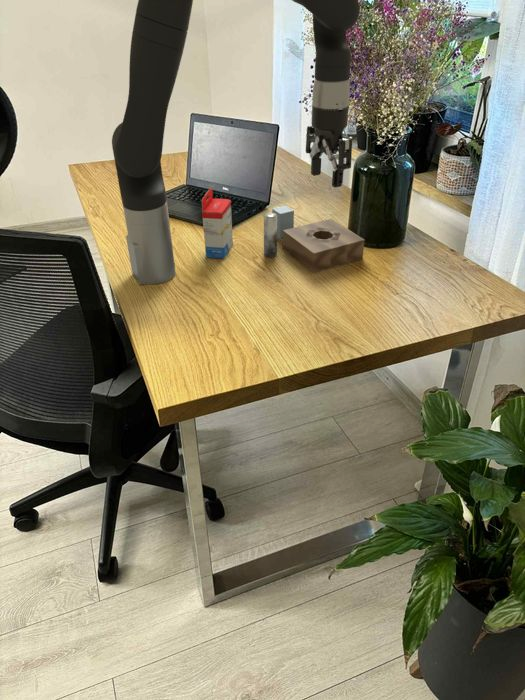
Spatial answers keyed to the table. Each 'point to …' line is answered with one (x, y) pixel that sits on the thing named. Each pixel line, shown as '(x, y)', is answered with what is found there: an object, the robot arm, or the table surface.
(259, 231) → the table surface
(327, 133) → the robot arm
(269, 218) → the round bit
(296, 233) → the socket block
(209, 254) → the ink box
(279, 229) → the square bar
